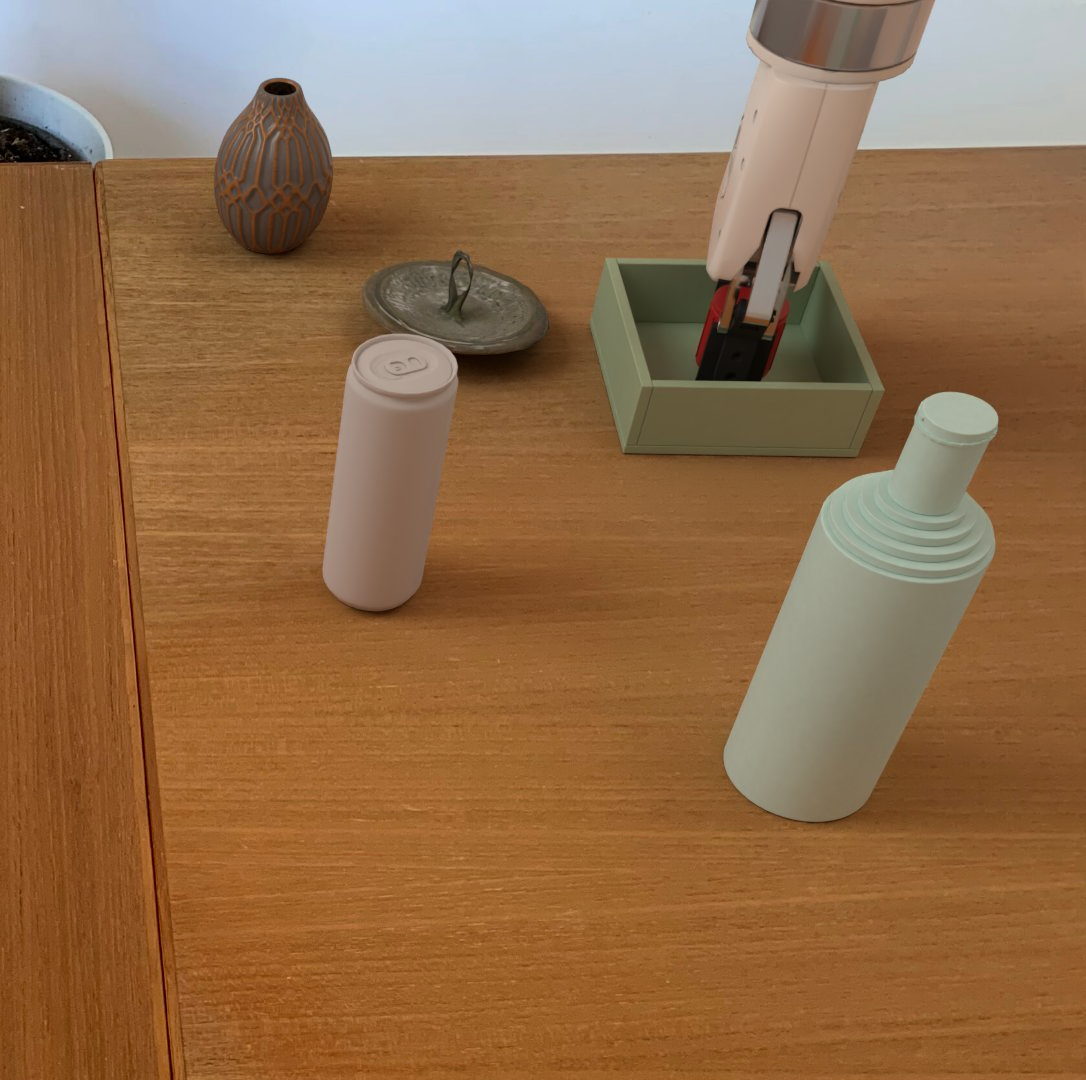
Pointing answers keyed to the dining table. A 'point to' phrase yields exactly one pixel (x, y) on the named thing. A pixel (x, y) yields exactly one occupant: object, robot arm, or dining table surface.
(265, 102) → the vase
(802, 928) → the dining table surface
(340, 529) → the beverage can
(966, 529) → the bottle
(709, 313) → the cap
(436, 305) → the lid
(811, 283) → the bin
